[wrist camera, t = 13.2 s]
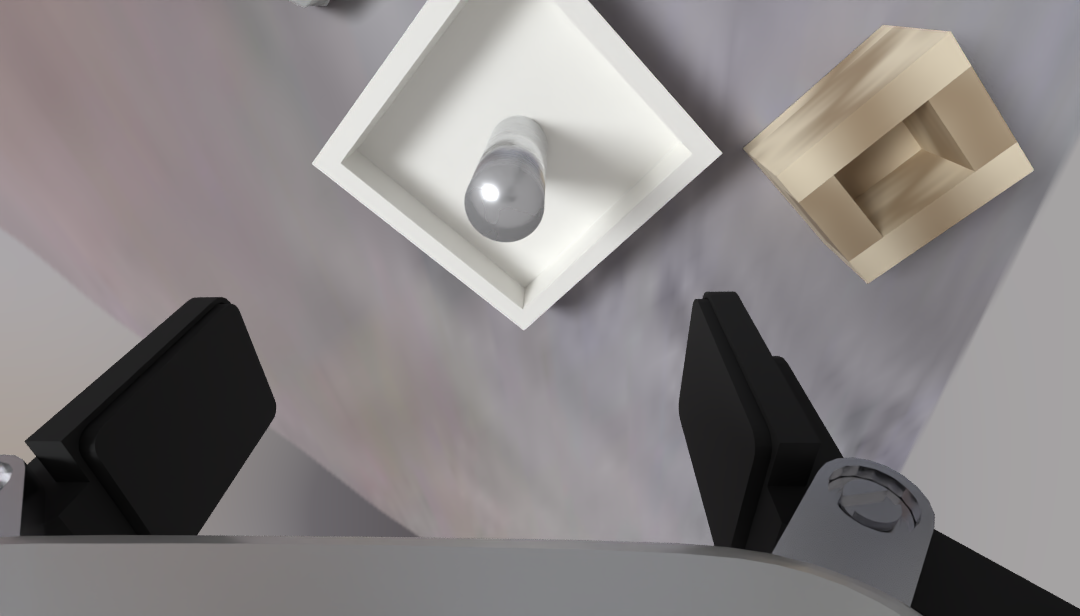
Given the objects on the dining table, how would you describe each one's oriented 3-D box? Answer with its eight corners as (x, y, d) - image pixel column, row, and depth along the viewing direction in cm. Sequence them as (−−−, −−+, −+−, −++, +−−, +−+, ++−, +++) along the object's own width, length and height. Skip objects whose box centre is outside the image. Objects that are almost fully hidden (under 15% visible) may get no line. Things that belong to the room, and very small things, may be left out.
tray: (506, -89, 23) (499, -101, 20) (704, 135, 28) (722, 153, 25) (337, 145, 29) (311, 163, 26) (526, 299, 33) (524, 330, 30)
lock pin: (516, 102, 26) (500, 147, 18) (559, 144, 27) (561, 204, 20) (478, 146, 27) (447, 206, 20) (520, 185, 28) (507, 256, 21)
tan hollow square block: (882, 25, 25) (950, 31, 21) (960, 142, 28) (1034, 170, 23) (742, 148, 28) (776, 176, 24) (824, 243, 31) (867, 283, 26)
